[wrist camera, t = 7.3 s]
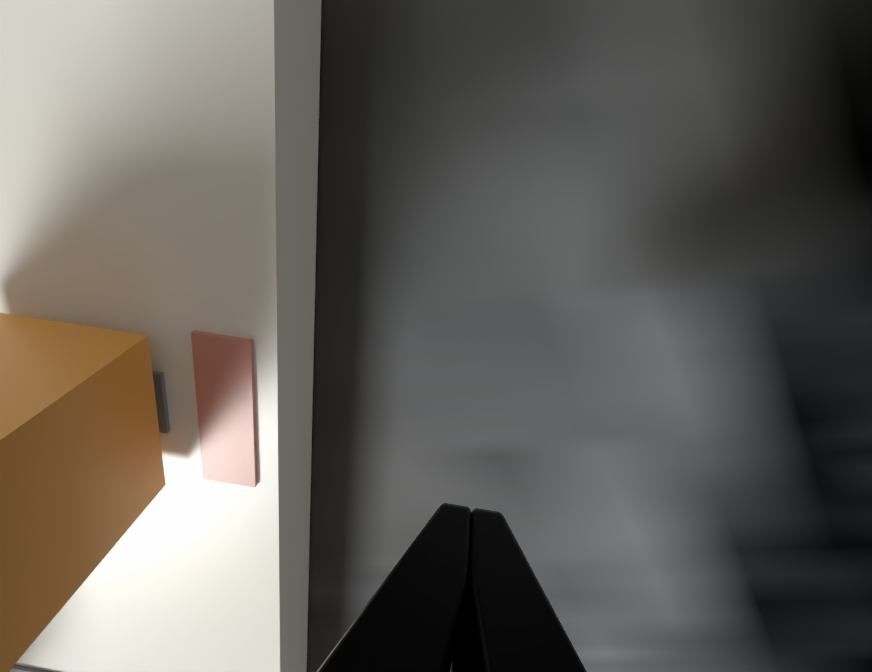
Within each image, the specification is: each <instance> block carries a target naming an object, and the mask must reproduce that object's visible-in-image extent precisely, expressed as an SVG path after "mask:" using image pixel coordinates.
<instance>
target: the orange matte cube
mask: <svg viewBox="0 0 872 672" xmlns="http://www.w3.org/2000/svg"><path fill="white" fill-rule="evenodd" d="M165 485H166V483H165V475H164V466H163V458H162V449H161V441H160V433H159V424H158V416H157V407H156V399H155V391H154V382H153V374H152V365H151V357H150V349H149V340H148V335H142V334H136V333H129V332H123V331H116V330H110V329H103V328H97V327H90V326H84V325H78V324H71V323H65V322H58V321H52V320H45V319H39V318H32V317H26V316H19V315H13V314H6V313H0V672H9V671H10V669H11V668H12V667H13V666H14V665H15V663H16V662H17V661H18V660H19V659H20V658H21V656H22V655H23V654H24V653H25V652H26V650H27V649H28V648H29V647H30V646H31V644H32V643H33V642H34V641H35V640H36V638H37V637H38V636H39V635H40V634H41V633H42V631H43V630H44V629H45V628H46V627H47V625H48V624H49V623H50V622H51V621H52V619H53V618H54V617H55V616H56V615H57V613H58V612H59V611H60V610H61V609H62V608H63V606H64V605H65V604H66V603H67V602H68V600H69V599H70V598H71V597H72V596H73V594H74V593H75V592H76V591H77V590H78V588H79V587H80V586H81V585H82V584H83V583H84V581H85V580H86V579H87V578H88V577H89V575H90V574H91V573H92V572H93V571H94V569H95V568H96V567H97V566H98V565H99V563H100V562H101V561H102V560H103V559H104V558H105V556H106V555H107V554H108V553H109V552H110V550H111V549H112V548H113V547H114V546H115V544H116V543H117V542H118V541H119V540H120V538H121V537H122V536H123V535H124V534H125V533H126V531H127V530H128V529H129V528H130V527H131V525H132V524H133V523H134V522H135V521H136V519H137V518H138V517H139V516H140V515H141V513H142V512H143V511H144V510H145V509H146V508H147V506H148V505H149V504H150V503H151V502H152V500H153V499H154V498H155V497H156V496H157V494H158V493H159V492H160V491H161V490H162V488H163V487H164V486H165Z"/></svg>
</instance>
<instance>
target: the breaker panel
mask: <svg viewBox="0 0 872 672" xmlns="http://www.w3.org/2000/svg"><path fill="white" fill-rule="evenodd" d="M321 1H322V0H0V313H6V314H13V315H19V316H26V317H32V318H39V319H45V320H52V321H58V322H65V323H71V324H78V325H84V326H90V327H97V328H103V329H110V330H116V331H123V332H129V333H136V334H142V335H148V340H149V349H150V357H151V365H152V374H153V382H154V391H155V399H156V407H157V416H158V424H159V433H160V441H161V449H162V458H163V466H164V475H165V483H166V485H165V486H164V487H163V488H162V490H161V491H160V492H159V493H158V494H157V496H156V497H155V498H154V499H153V500H152V502H151V503H150V504H149V505H148V506H147V508H146V509H145V510H144V511H143V512H142V513H141V515H140V516H139V517H138V518H137V519H136V521H135V522H134V523H133V524H132V525H131V527H130V528H129V529H128V530H127V531H126V533H125V534H124V535H123V536H122V537H121V538H120V540H119V541H118V542H117V543H116V544H115V546H114V547H113V548H112V549H111V550H110V552H109V553H108V554H107V555H106V556H105V558H104V559H103V560H102V561H101V562H100V563H99V565H98V566H97V567H96V568H95V569H94V571H93V572H92V573H91V574H90V575H89V577H88V578H87V579H86V580H85V581H84V583H83V584H82V585H81V586H80V587H79V588H78V590H77V591H76V592H75V593H74V594H73V596H72V597H71V598H70V599H69V600H68V602H67V603H66V604H65V605H64V606H63V608H62V609H61V610H60V611H59V612H58V613H57V615H56V616H55V617H54V618H53V619H52V621H51V622H50V623H49V624H48V625H47V627H46V628H45V629H44V630H43V631H42V633H41V634H40V635H39V636H38V637H37V638H36V640H35V641H34V642H33V643H32V644H31V646H30V647H29V648H28V649H27V650H26V652H25V653H24V654H23V655H22V656H21V658H20V659H19V660H18V661H17V662H16V663H15V665H14V666H13V667H12V668H11V669H10V671H9V672H307V631H308V586H309V541H310V496H311V451H312V406H313V361H314V316H315V271H316V226H317V181H318V136H319V91H320V46H321Z"/></svg>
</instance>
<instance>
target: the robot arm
mask: <svg viewBox="0 0 872 672" xmlns="http://www.w3.org/2000/svg"><path fill="white" fill-rule="evenodd" d="M450 669H451V672H586V670H585V668H584V666H583V664H582V662H581V661H580V659H579V657H578V655H577V653H576V651H575V649H574V647H573V646H572V644H571V642H570V640H569V638H568V636H567V634H566V632H565V631H564V629H563V627H562V625H561V623H560V621H559V619H558V617H557V616H556V614H555V612H554V610H553V608H552V606H551V604H550V602H549V601H548V599H547V597H546V595H545V593H544V591H543V589H542V587H541V586H540V584H539V582H538V580H537V578H536V576H535V574H534V572H533V570H532V569H531V567H530V565H529V563H528V561H527V559H526V557H525V555H524V554H523V552H522V550H521V548H520V546H519V544H518V542H517V540H516V539H515V537H514V535H513V533H512V531H511V529H510V527H509V525H508V524H507V522H506V520H505V518H504V516H503V515H502V514H501V513H500V512H496V511H490V510H484V509H478V508H476V509H474V510H473V511H472V512H471V510H470V508H468V507H466V506H460V505H454V504H448V503H444V504H442V505H441V506H440V507H439V508H438V509H437V511H436V512H435V513H434V515H433V516H432V517H431V519H430V520H429V521H428V523H427V524H426V526H425V527H424V528H423V530H422V531H421V532H420V534H419V535H418V536H417V538H416V539H415V540H414V542H413V543H412V544H411V546H410V547H409V548H408V550H407V551H406V552H405V554H404V555H403V556H402V558H401V559H400V560H399V562H398V563H397V564H396V566H395V567H394V568H393V570H392V571H391V572H390V574H389V575H388V577H387V578H386V579H385V581H384V582H383V583H382V585H381V586H380V587H379V589H378V590H377V591H376V593H375V594H374V595H373V597H372V598H371V599H370V601H369V602H368V603H367V605H366V606H365V607H364V609H363V610H362V611H361V613H360V614H359V615H358V617H357V618H356V619H355V621H354V622H353V624H352V625H351V626H350V628H349V629H348V630H347V632H346V633H345V634H344V636H343V637H342V638H341V640H340V641H339V642H338V644H337V645H336V646H335V648H334V649H333V650H332V652H331V653H330V654H329V656H328V657H327V658H326V660H325V661H324V662H323V664H322V665H321V666H320V668H319V669H318V670H317V672H450Z"/></svg>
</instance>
